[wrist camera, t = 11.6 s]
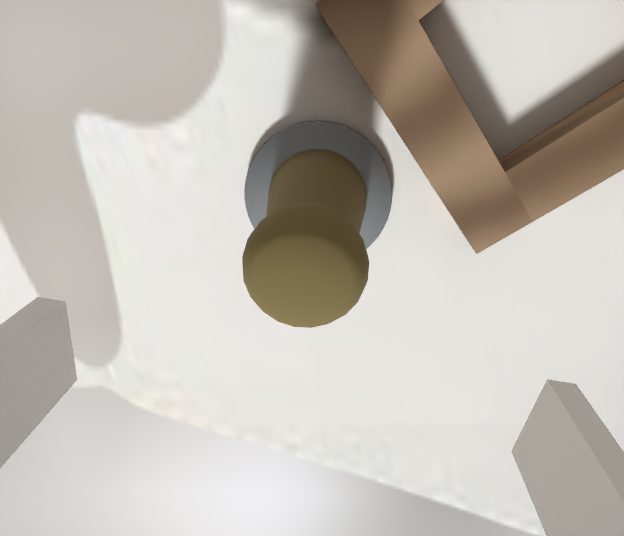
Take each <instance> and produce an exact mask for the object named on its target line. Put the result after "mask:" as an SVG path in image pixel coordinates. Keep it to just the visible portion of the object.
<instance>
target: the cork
mask: <svg viewBox="0 0 624 536" xmlns="http://www.w3.org/2000/svg"><path fill="white" fill-rule="evenodd" d="M366 201H367V191H366V187H365V183H364V179H363V177H362V175H361V174H360V172H359V171H358V169H357V168H356V166H355V165H354V164H353V163H352V162H350V161H349V160H348V159H347V158H345V157H344V156H343V155H341V154H338V153H335V152H333V151H330V150H327V149H308V150H305V151H302V152H298V153H295V154H294V155H292V156H291V157H289V158H288V159H287V160H285V161H284V162H282V164H281V165H280V166H279V168H278V169H277V171H276V172H275V173H274V175H273V178H272V181H271V184H270V187H269V193H268V203H267V213H266V217H265V218H264V219H262V220H261V221H260V223H259V224H258V225H257V227H256V228H255V229H254V231H253V232H252V233H251V235H250V236H249V238H248V240H247V243H246V247H245V250H244V253H243V257H242V259H243V276H244V282H245V285H246V287H247V290H248V292H249V294H250V297H251V298H252V299H253V300H254V301H255V303H256V304H257V305H258V306H259V307H260V308H261V310H262V311H263V312H265V313H266V314H268V315H269V316H271V317H272V318H274V319H275V320H277V321H278V322H281V323H284V324H288V325H291V326H294V327H310V328H311V327H316V326H320V325H325V324H328V323H331V322H333V321H334V320H336V319H338V318H340V317H342V316H344V315H346V314H347V313H348V312H349V310H350V309H351V308H352V307H353V306H354V305H355V304H356V303H357V302H358V300H359V298H360V296H361V294H362V292H363V290H364V288H365V285H366V283H367V280H368V269H369V260H368V255H367V251H366V247H365V244H364V240H363V238H362V237H361V235H360V234H359V233H360V229H361V225H362V222H363V218H364V214H365V210H366Z"/></svg>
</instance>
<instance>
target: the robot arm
mask: <svg viewBox="0 0 624 536" xmlns="http://www.w3.org/2000/svg"><path fill="white" fill-rule="evenodd" d="M76 380H77V376H76V369H75V362H74V356H73V349H72V343H71V336H70V329H69V322H68V316H67V309H66V302H65V301H59V300H52V299H47V298H41V297H37V298H36V299H35V300H33V301H32V302H31V303H29V304H28V305H27V306H25V307H24V308H23V309H21V310H20V311H19V312H17V313H16V314H14V315H13V316H12V317H10V318H9V319H8V320H6V321H5V322H4V323H2V324H1V325H0V468H1V467H2V466H3V464H4V463H5V462H6V461H7V460H8V459H9V458H10V456H11V455H12V454H13V453H14V452H15V451H16V450H17V448H18V447H19V446H20V445H21V444H22V443H23V441H24V440H25V439H26V438H27V436H28V435H30V433H31V432H32V431H33V430H34V429H35V428H36V426H37V425H38V424H39V423H40V422H41V421H42V419H43V418H44V417H45V416H46V415H47V414H48V413H49V411H50V410H51V409H52V408H53V407H54V406H55V404H56V403H57V402H58V401H59V400H60V399H61V398H62V396H63V395H64V394H65V393H66V392H67V391H68V389H69V388H70V387H71V386H72V385H73V384H74V383H75V381H76ZM512 453H513V456H514V458H515V461H516V463H517V465H518V468H519V470H520V473H521V475H522V477H523V480H524V482H525V485H526V487H527V490H528V492H529V494H530V497H531V499H532V502H533V504H534V506H535V509H536V511H537V514H538V516H539V518H540V521H541V523H542V526H543V528H544V531H545V533H546V535H547V536H624V452H623V451H622V449H621V448H620V446H619V445H618V443H617V442H616V441H615V439H614V438H613V436H612V435H611V433H610V432H609V431H608V429H607V428H606V426H605V425H604V423H603V422H602V421H601V419H600V418H599V416H598V415H597V413H596V412H595V411H594V409H593V408H592V406H591V405H590V404H589V402H588V401H587V399H586V398H585V396H584V395H583V394H582V392H581V391H580V389H579V388H578V386H577V385H576V384H572V383H566V382H559V381H553V380H547V381H546V383H545V385H544V387H543V389H542V391H541V393H540V395H539V397H538V399H537V401H536V403H535V405H534V407H533V409H532V411H531V413H530V415H529V417H528V419H527V421H526V423H525V425H524V427H523V429H522V431H521V433H520V435H519V437H518V439H517V441H516V443H515V445H514V447H513V449H512Z"/></svg>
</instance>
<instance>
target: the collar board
mask: <svg viewBox="0 0 624 536" xmlns="http://www.w3.org/2000/svg"><path fill="white" fill-rule="evenodd" d="M442 1H443V0H320V1H319V2H318V3H317V4H316V7H317V9H318V10H319V12H320V13H321V15H322V16H323V18H324V19H325V21H326V23H327V24H328V26H329V27H330V29H331V30H332V32H333V33H334V35H335V36H336V38H337V40H338V41H339V43H340V44H341V46H342V47H343V49H344V50H345V52H346V53H347V55H348V57H349V58H350V60H351V61H352V63H353V64H354V66H355V67H356V69H357V70H358V72H359V74H360V75H361V77H362V78H363V80H364V81H365V83H366V84H367V86H368V87H369V89H370V91H371V92H372V94H373V95H374V97H375V98H376V100H377V101H378V103H379V104H380V106H381V108H382V109H383V111H384V112H385V114H386V115H387V117H388V118H389V120H390V121H391V123H392V125H393V126H394V128H395V129H396V131H397V132H398V134H399V135H400V137H401V138H402V140H403V142H404V143H405V145H406V146H407V148H408V149H409V151H410V152H411V154H412V155H413V157H414V159H415V160H416V162H417V163H418V165H419V166H420V168H421V169H422V171H423V172H424V174H425V176H426V177H427V179H428V180H429V182H430V183H431V185H432V186H433V188H434V189H435V191H436V193H437V194H438V196H439V197H440V199H441V200H442V202H443V203H444V205H445V206H446V208H447V210H448V211H449V213H450V214H451V216H452V217H453V219H454V220H455V222H456V223H457V225H458V227H459V228H460V230H461V231H462V233H463V234H464V236H465V237H466V239H467V240H468V242H469V243H470V245H471V246H472V248H473V249H474V251H475V252H476V254H477V253H479V252H481V251H483V250H484V249H486V248H488V247H490V246H491V245H493V244H495V243H496V242H498V241H500V240H502V239H503V238H505V237H507V236H509V235H510V234H512V233H514V232H516V231H517V230H519V229H521V228H523V227H524V226H526V225H528V224H529V223H531V222H533V221H535V220H536V219H538V218H540V217H542V216H543V215H545V214H547V213H549V212H550V211H552V210H554V209H556V208H557V207H559V206H561V205H563V204H564V203H566V202H568V201H569V200H571V199H573V198H575V197H576V196H578V195H580V194H582V193H583V192H585V191H587V190H589V189H590V188H592V187H594V186H596V185H597V184H599V183H601V182H602V181H604V180H606V179H608V178H609V177H611V176H613V175H615V174H616V173H618V172H620V171H622V170H623V169H624V81H622V82H620V83H619V84H617V85H616V86H614V87H613V88H611V89H610V90H608V91H606V92H605V93H603V94H602V95H600V96H599V97H597V98H595V99H594V100H592V101H591V102H589V103H588V104H586V105H585V106H583V107H581V108H580V109H578V110H577V111H575V112H574V113H572V114H571V115H569V116H567V117H566V118H564V119H563V120H561V121H560V122H558V123H556V124H555V125H553V126H552V127H550V128H549V129H547V130H546V131H544V132H542V133H541V134H539V135H538V136H536V137H535V138H533V139H531V140H530V141H528V142H527V143H525V144H524V145H522V146H521V147H519V148H517V149H516V150H514V151H513V152H511V153H510V154H508V155H507V156H505V157H503V158H502V159H500V160H499V161H498V159H497V157H496V156H495V154H494V152H493V150H492V149H491V147H490V145H489V143H488V142H487V140H486V138H485V136H484V135H483V133H482V131H481V129H480V128H479V126H478V124H477V122H476V121H475V119H474V117H473V115H472V114H471V112H470V110H469V108H468V107H467V105H466V103H465V101H464V100H463V98H462V96H461V94H460V92H459V91H458V89H457V87H456V85H455V84H454V82H453V80H452V78H451V77H450V75H449V73H448V71H447V70H446V68H445V66H444V64H443V63H442V61H441V59H440V57H439V56H438V54H437V52H436V50H435V49H434V47H433V45H432V43H431V42H430V40H429V38H428V36H427V35H426V33H425V31H424V29H423V28H422V26H421V24H420V22H419V20H420V19H421V18H422V17H423V16H425V15H426V14H427V13H428V12H430V11H431V10H432V9H433V8H435V7H436V6H437V5H438V4H440V3H441V2H442Z"/></svg>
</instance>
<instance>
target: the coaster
mask: <svg viewBox="0 0 624 536" xmlns="http://www.w3.org/2000/svg"><path fill="white" fill-rule="evenodd" d="M308 149H327V150H330V151H333V152H335V153H338V154H341V155H343V156H344V157H345V158H347V159H348V160H349V161H350V162H352V163H353V164H354V165H355V166H356V168H357V169H358V171H359V172H360V174H361V175H362V177H363V179H364V183H365V187H366V191H367V201H366V210H365V214H364V218H363V222H362V225H361V229H360V233H359V234H360V235H361V237H362V238H363V240H364V244H365V247H366V249H367V248H368V247H369V246H370V245H371V244H372V243H373V242H374V241H375V239H376V238H377V237H378V236H379V234H380V233H381V231H382V230H383V228H384V226H385V224H386V221H387V219H388V216H389V213H390V208H391V202H392V188H391V181H390V177H389V173H388V171H387V168H386V166H385V163H384V161H383V159H382V158H381V156H380V154H379V152H378V151H377V150H376V149H375V147H374V146H373V145H372V144H371V143H370V142H369V141H368V140H367V139H366V138H365V137H363V136H362V135H361V134H359V133H358V132H356V131H354V130H352V129H350V128H349V127H346V126H343V125H341V124H337V123H333V122H327V121H308V122H303V123H298V124H295V125H292V126H290V127H287V128H285V129H284V130H282V131H280V132H278V133H277V134H275V135H274V136H273V137H271V138H270V139H269V140H268V141H267V142H266V143H265V144H264V145H263V146H262V148H261V149H260V150H259V151H258V153H257V154H256V156H255V157H254V159H253V161H252V163H251V165H250V168H249V170H248V173H247V177H246V182H245V203H246V209H247V212H248V216H249V218H250V221H251V223H252V225H253V227H254V229H255V228H256V227H257V225H258V224H259V223H260V221H261V220H262V219H264V218H265V217H266V213H267V203H268V193H269V187H270V184H271V181H272V178H273V175H274V173H275V172H276V171H277V169H278V168H279V166H280V165H281V164H282V162H284V161H285V160H287V159H288V158H289V157H291V156H292V155H294V154H295V153H298V152H302V151H305V150H308Z"/></svg>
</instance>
